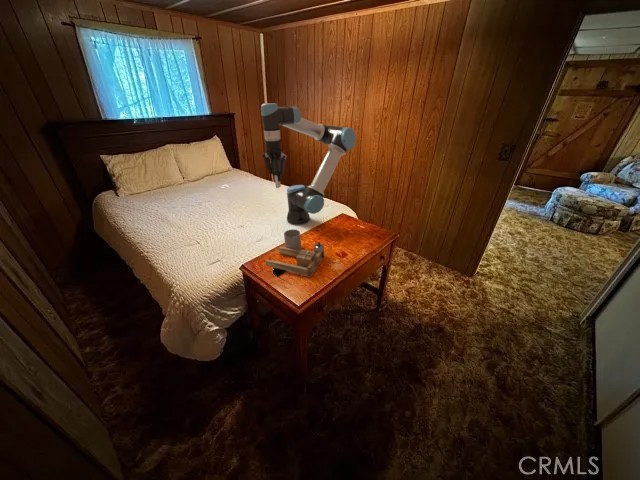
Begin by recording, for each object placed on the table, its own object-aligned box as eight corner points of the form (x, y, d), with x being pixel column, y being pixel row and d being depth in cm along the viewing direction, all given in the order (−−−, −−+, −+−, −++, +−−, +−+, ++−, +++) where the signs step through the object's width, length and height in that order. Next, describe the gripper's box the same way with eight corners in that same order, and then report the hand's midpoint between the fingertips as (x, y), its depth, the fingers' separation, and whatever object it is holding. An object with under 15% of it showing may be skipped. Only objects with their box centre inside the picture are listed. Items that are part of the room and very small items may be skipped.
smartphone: (257, 266, 125) (277, 278, 116) (257, 265, 125) (277, 276, 116) (269, 259, 130) (289, 270, 121) (268, 258, 129) (289, 269, 121)
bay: (280, 252, 135) (279, 244, 132) (321, 260, 127) (321, 251, 125) (266, 266, 124) (265, 258, 121) (310, 276, 116) (310, 267, 114)
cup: (298, 254, 133) (297, 237, 128) (283, 252, 134) (281, 236, 129) (302, 245, 140) (301, 229, 135) (288, 244, 141) (286, 228, 136)
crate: (303, 261, 127) (302, 248, 124) (316, 263, 125) (316, 251, 121) (297, 269, 122) (295, 256, 118) (310, 272, 119) (310, 259, 116)
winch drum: (316, 252, 133) (316, 239, 129) (325, 254, 132) (325, 240, 127) (312, 257, 129) (312, 243, 125) (322, 259, 128) (321, 245, 123)
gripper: (257, 140, 121) (263, 188, 133) (281, 141, 117) (286, 190, 129) (265, 138, 127) (271, 184, 139) (288, 138, 123) (292, 186, 135)
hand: (278, 187), depth 134 cm, fingers closed
